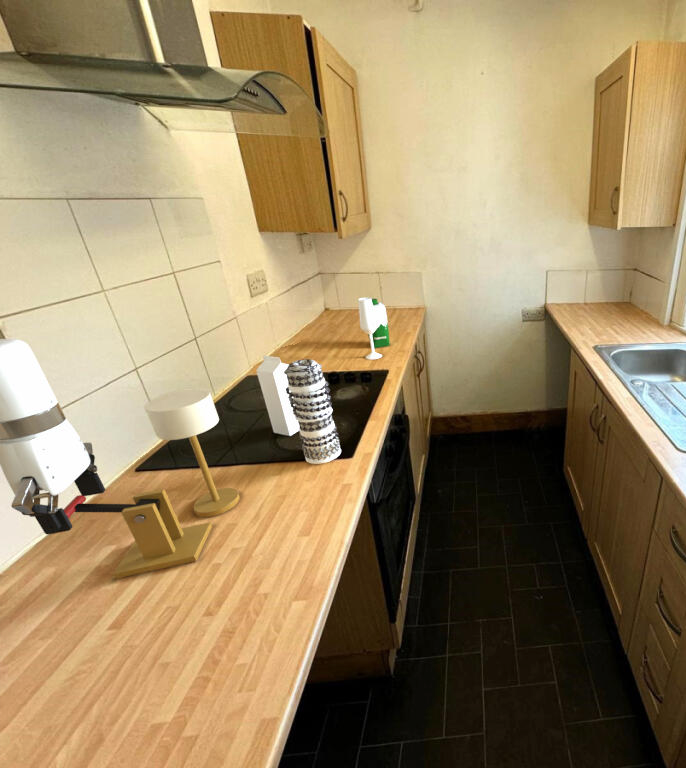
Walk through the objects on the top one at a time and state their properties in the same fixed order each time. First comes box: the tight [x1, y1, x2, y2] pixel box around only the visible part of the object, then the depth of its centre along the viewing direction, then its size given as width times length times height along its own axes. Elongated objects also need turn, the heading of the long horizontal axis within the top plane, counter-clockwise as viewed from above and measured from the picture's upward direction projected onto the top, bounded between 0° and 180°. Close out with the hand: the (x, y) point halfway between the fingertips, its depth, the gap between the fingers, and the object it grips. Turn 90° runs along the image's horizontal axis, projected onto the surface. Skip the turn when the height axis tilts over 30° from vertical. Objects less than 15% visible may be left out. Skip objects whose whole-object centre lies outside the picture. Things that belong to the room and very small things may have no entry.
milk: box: [255, 355, 300, 437], centre depth 113 cm, size 6×6×22 cm
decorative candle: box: [284, 358, 342, 465], centre depth 101 cm, size 9×9×25 cm
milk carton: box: [367, 298, 390, 349], centre depth 182 cm, size 9×9×20 cm
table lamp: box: [144, 387, 240, 518], centre depth 84 cm, size 10×10×25 cm
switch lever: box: [62, 494, 160, 520], centre depth 71 cm, size 12×5×2 cm, turn 109°
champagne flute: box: [357, 297, 383, 360], centre depth 167 cm, size 7×7×24 cm
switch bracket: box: [112, 488, 213, 580], centre depth 74 cm, size 12×9×12 cm
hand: (78, 511), depth 69 cm, fingers open, 9 cm apart
